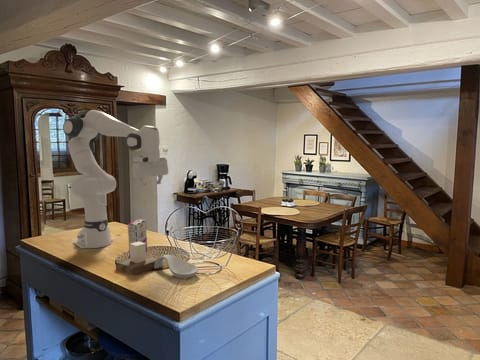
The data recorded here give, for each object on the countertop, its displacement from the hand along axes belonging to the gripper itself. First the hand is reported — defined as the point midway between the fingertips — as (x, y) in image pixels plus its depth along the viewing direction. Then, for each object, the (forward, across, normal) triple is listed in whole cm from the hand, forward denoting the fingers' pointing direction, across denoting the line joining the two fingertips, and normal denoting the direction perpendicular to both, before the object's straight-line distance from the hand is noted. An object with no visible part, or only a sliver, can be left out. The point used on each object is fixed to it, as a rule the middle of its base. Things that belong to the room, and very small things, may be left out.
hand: (151, 185), depth 184 cm
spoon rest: (+36, +13, +32) cm, 49 cm away
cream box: (+32, +19, +13) cm, 39 cm away
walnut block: (+36, +19, +13) cm, 43 cm away
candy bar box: (+36, +5, -6) cm, 37 cm away
